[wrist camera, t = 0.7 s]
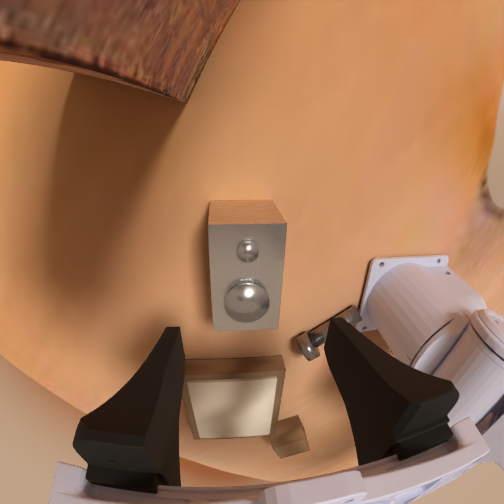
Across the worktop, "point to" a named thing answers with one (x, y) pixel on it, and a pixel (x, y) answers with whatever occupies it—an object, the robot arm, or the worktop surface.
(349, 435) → the worktop surface
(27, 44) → the book
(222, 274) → the housing
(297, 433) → the walnut block
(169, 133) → the worktop surface
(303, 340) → the loose bolt
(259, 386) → the stand
